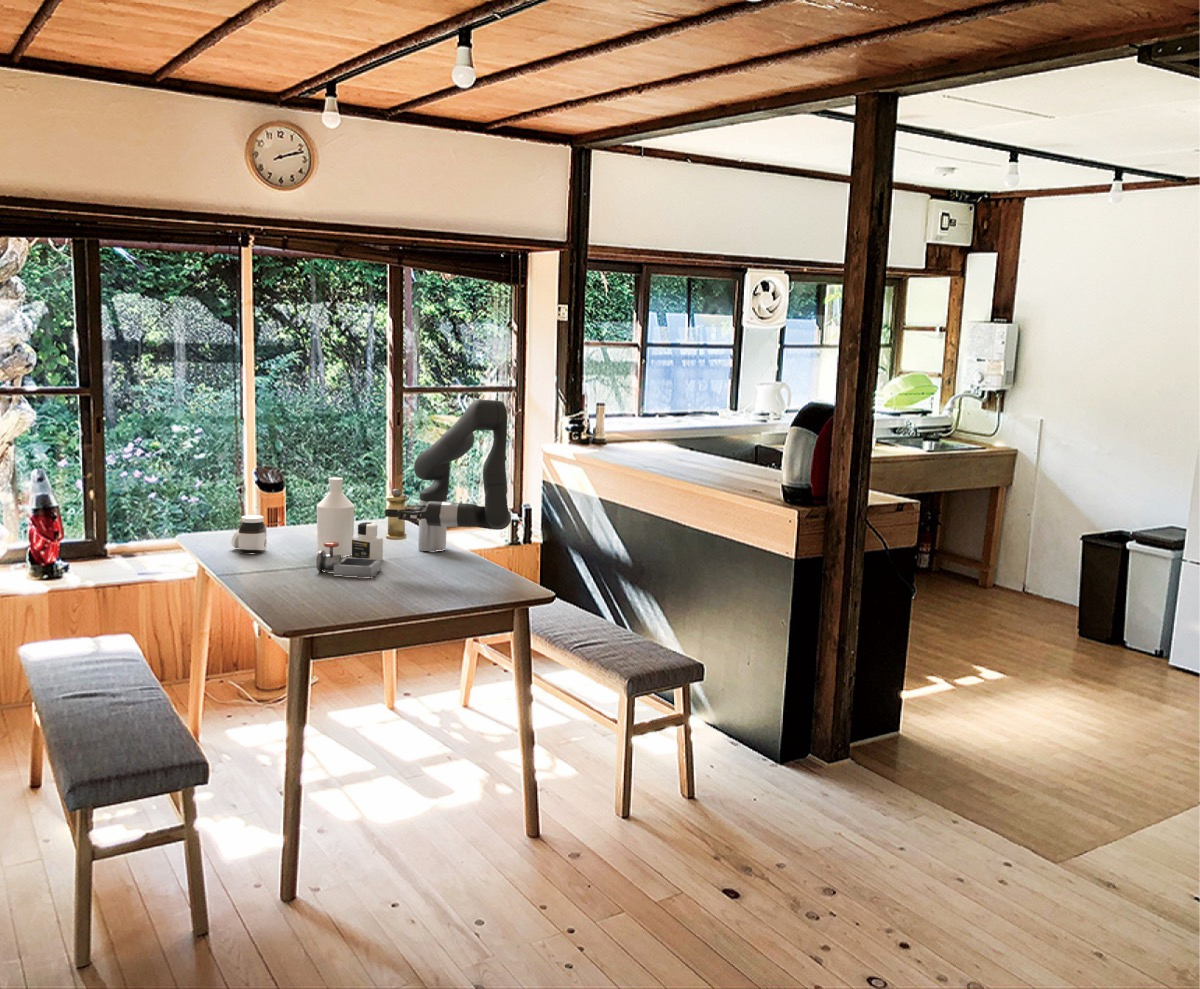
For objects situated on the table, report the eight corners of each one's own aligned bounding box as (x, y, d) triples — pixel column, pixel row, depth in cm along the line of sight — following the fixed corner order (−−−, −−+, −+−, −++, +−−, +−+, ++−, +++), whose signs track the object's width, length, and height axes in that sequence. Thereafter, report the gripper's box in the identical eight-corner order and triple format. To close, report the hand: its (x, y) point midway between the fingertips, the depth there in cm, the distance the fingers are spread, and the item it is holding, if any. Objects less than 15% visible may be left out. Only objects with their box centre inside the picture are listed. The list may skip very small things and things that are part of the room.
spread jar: (259, 555, 340) (259, 520, 338) (224, 554, 340) (223, 518, 338) (271, 548, 352) (271, 513, 350) (237, 546, 352) (237, 512, 350)
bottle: (358, 551, 353) (359, 477, 349) (346, 558, 341) (347, 482, 337) (324, 549, 354) (324, 475, 350) (311, 556, 342) (311, 479, 338)
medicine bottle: (351, 560, 339) (351, 523, 337) (365, 556, 346) (365, 520, 344) (369, 563, 336) (369, 526, 334) (383, 559, 343) (383, 522, 341)
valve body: (386, 535, 322) (387, 487, 320) (406, 535, 323) (407, 488, 321) (385, 539, 317) (385, 491, 314) (405, 540, 317) (406, 491, 315)
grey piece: (325, 567, 328) (325, 538, 327) (381, 570, 328) (381, 542, 326) (313, 575, 317) (313, 546, 316) (371, 578, 316) (371, 549, 315)
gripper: (448, 497, 325) (393, 495, 325) (439, 505, 310) (381, 502, 311) (447, 522, 326) (393, 519, 326) (438, 530, 312) (381, 528, 312)
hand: (387, 511), depth 319 cm, fingers closed on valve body, 5 cm apart
